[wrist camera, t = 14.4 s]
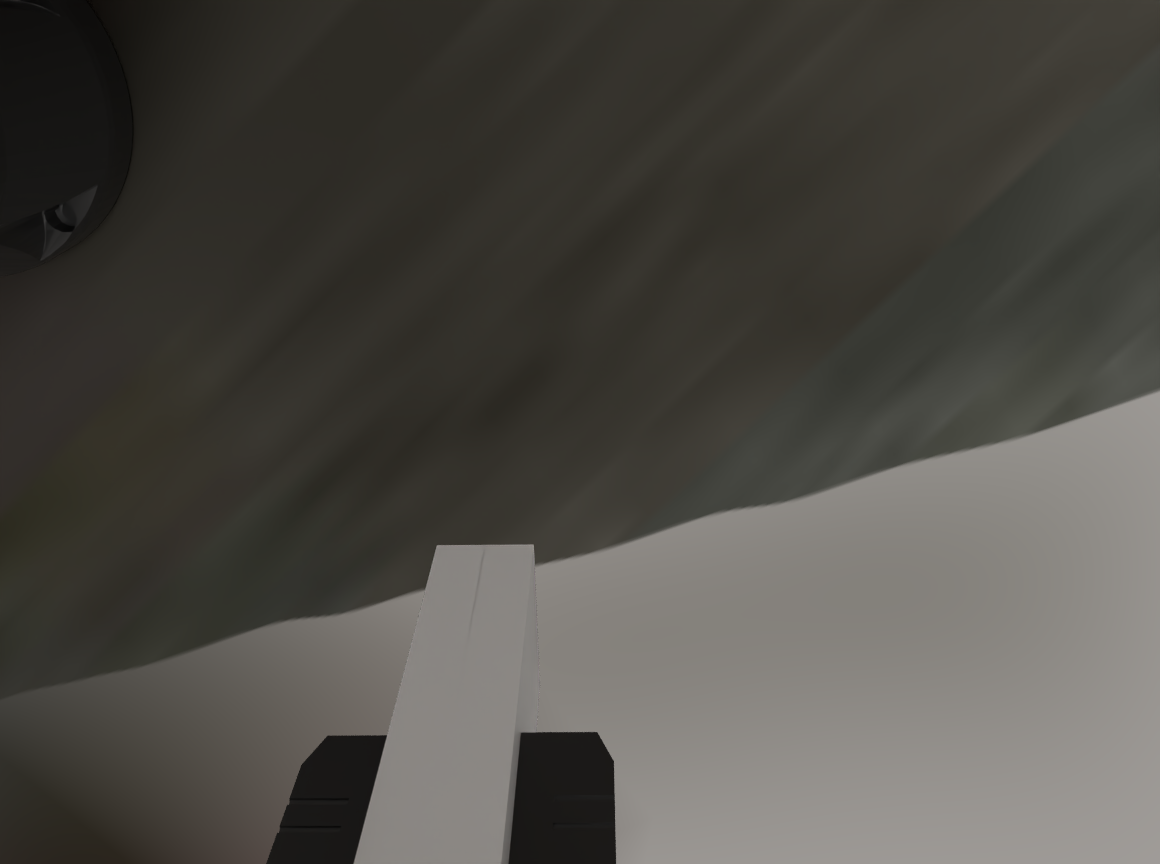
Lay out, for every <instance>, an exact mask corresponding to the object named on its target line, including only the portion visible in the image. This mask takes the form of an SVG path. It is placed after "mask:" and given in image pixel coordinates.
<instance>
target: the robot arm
mask: <svg viewBox="0 0 1160 864" xmlns="http://www.w3.org/2000/svg"><path fill="white" fill-rule="evenodd" d="M132 135H133V132H132V113H131V105H130V99H129V93H128V89H127V85H126V81H125V78H124V74H123V71H122V68H121V65H120V62H119V60H118V57H117V55H116V52H115V50H114V48H113V46H112V43H111V41H110V39H109V37H108V35H107V33H106V31H105V30H104V28H103V26H102V24H101V23H100V21H99V19H98V18H97V16H96V14H95V13H94V11H93V10H92V9H91V7H90V6H89V4H88V3H87V1H86V0H0V277H1V276H6V275H11V274H15V273H19V272H22V271H26V270H29V269H31V268H34V267H37V266H39V265H41V264H43V263H45V262H47V261H49V260H51V259H53V258H54V257H56V256H58V255H60V254H61V253H63V252H65V251H67V250H68V249H70V248H72V247H73V246H75V245H76V244H78V243H79V242H81V241H82V240H83V239H85V238H86V237H87V236H88V235H89V234H91V233H92V232H93V231H94V230H95V229H96V228H97V227H98V226H99V225H100V223H101V222H102V221H103V220H104V219H105V217H106V216H107V215H108V213H109V212H110V210H111V209H112V207H113V205H114V204H115V202H116V200H117V198H118V196H119V194H120V192H121V189H122V187H123V184H124V182H125V178H126V175H127V172H128V167H129V163H130V157H131V150H132ZM539 690H540V673H539V652H538V629H537V607H536V584H535V561H534V545H437V547H436V551H435V555H434V559H433V562H432V566H431V570H430V574H429V578H428V582H427V585H426V589H425V593H424V597H423V601H422V605H421V608H420V613H419V616H418V620H417V624H416V627H415V631H414V635H413V639H412V643H411V647H410V650H409V654H408V658H407V662H406V666H405V669H404V673H403V677H402V681H401V685H400V689H399V692H398V696H397V700H396V704H395V708H394V711H393V715H392V719H391V723H390V727H389V731H388V735H384V736H383V735H382V736H327V737H326V738H325V739H324V741H323V742H322V743H321V744H320V745H319V746H318V747H317V748H316V749H315V751H314V752H313V753H312V754H311V755H310V756H309V757H308V758H307V759H306V761H305V762H304V763H303V764H302V765H301V768H300V771H299V773H298V776H297V779H296V782H295V785H294V788H293V790H292V793H291V796H290V803H289V805H287V807H286V810H285V813H284V816H283V818H282V821H281V824H280V831H279V833H277V835H276V838H275V841H274V844H273V846H272V849H271V852H270V855H269V858H268V860H267V863H266V864H616V844H615V843H616V840H615V800H614V799H615V798H614V797H615V795H614V761H613V759H612V757H611V756H610V754H609V752H608V751H607V749H606V747H605V745H604V744H603V742H602V740H601V738H600V736H599V735H598V733H597V732H542V733H541V732H538V733H537V732H536V731H537V718H538V704H539Z"/></svg>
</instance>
